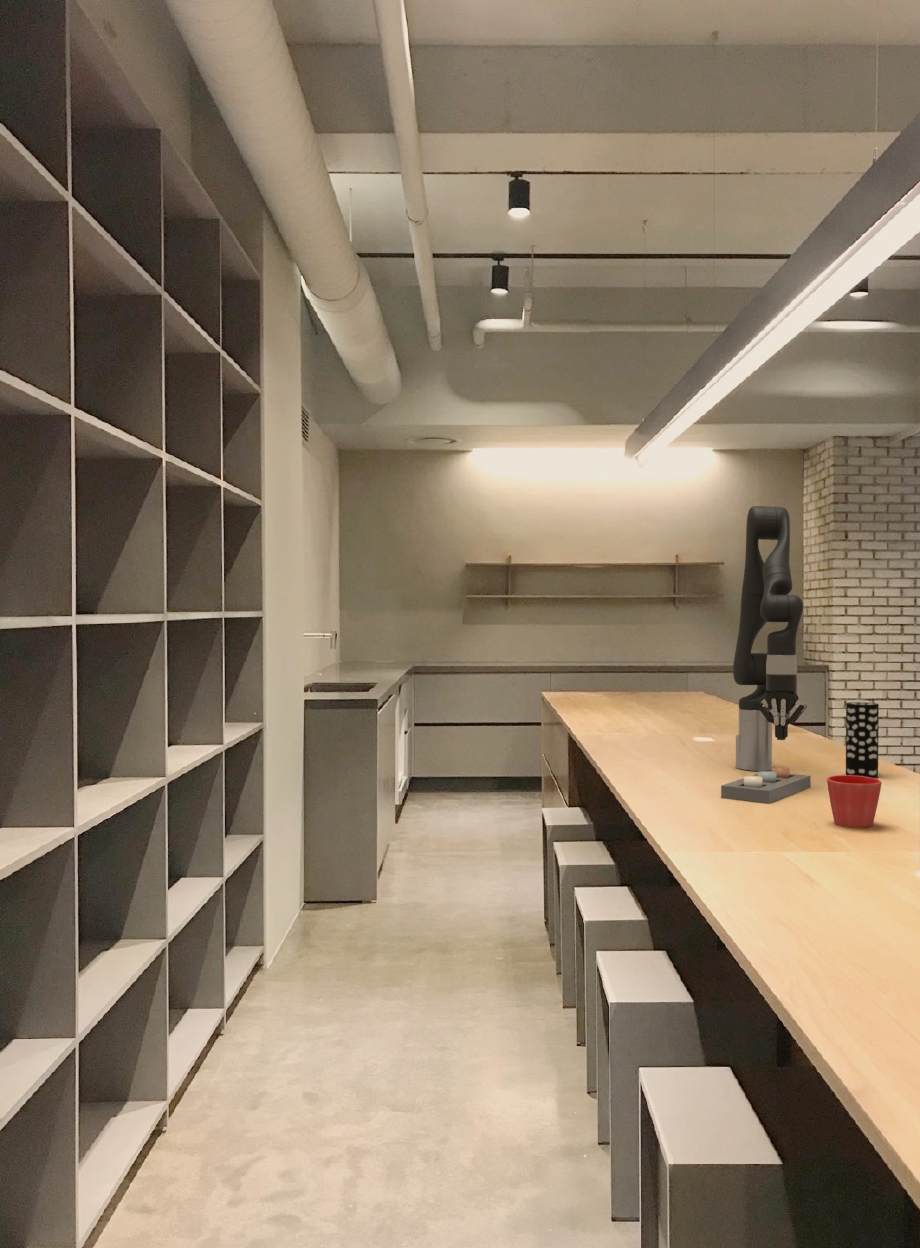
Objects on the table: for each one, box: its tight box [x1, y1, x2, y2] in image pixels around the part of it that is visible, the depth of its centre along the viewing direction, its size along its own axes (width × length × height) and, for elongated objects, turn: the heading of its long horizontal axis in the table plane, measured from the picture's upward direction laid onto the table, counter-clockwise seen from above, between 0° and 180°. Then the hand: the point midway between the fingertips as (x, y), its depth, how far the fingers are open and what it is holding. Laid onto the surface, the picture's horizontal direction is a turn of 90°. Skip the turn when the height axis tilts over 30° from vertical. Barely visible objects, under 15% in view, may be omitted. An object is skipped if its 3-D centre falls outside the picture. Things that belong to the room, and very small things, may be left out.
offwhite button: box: [743, 775, 762, 788], centre depth 250 cm, size 4×4×3 cm
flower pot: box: [826, 774, 883, 829], centre depth 220 cm, size 11×11×10 cm
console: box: [720, 773, 812, 804], centre depth 258 cm, size 12×28×3 cm, turn 142°
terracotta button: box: [771, 766, 791, 778], centre depth 265 cm, size 4×4×3 cm
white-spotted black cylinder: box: [845, 701, 880, 779], centre depth 282 cm, size 8×8×20 cm
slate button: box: [757, 770, 776, 783], centre depth 258 cm, size 4×4×3 cm
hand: (781, 739), depth 264 cm, fingers closed
